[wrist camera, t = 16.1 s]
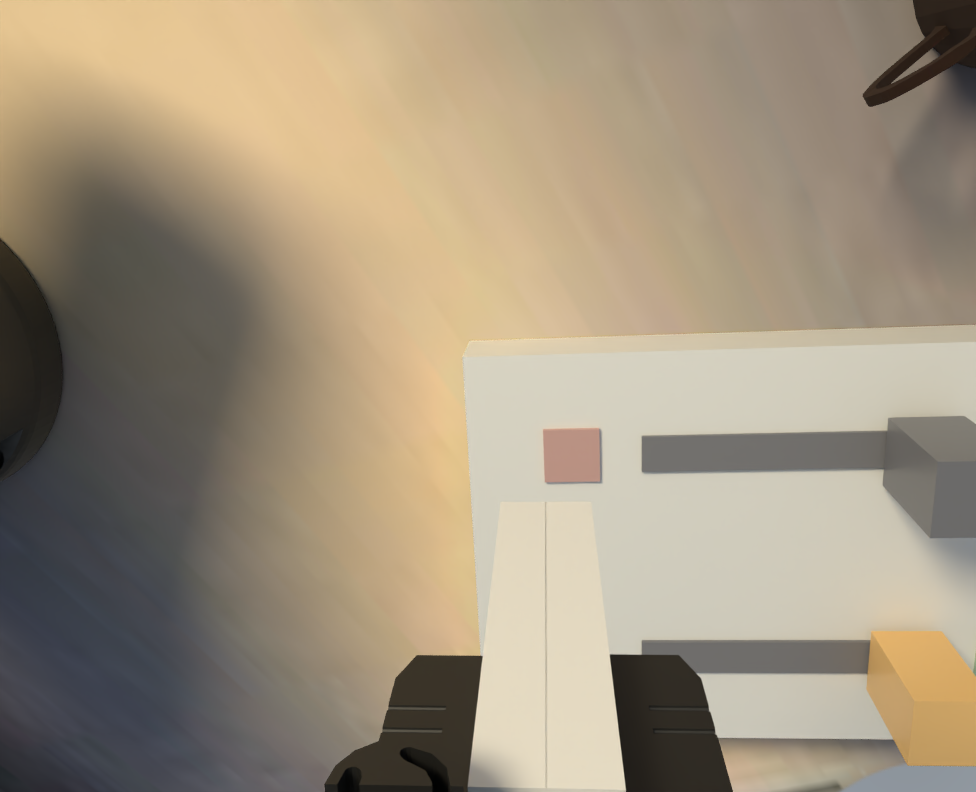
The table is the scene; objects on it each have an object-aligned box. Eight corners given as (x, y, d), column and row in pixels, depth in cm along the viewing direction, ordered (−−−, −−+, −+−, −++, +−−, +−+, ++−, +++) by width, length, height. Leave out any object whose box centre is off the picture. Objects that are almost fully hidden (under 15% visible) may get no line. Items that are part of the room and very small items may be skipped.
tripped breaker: (866, 689, 40) (907, 765, 35) (871, 630, 39) (914, 701, 34) (934, 689, 40) (986, 766, 35) (941, 631, 39) (995, 701, 34)
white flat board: (490, 697, 46) (485, 738, 43) (469, 340, 40) (461, 358, 37) (1059, 700, 43) (1097, 744, 40) (1120, 320, 38) (1169, 337, 35)
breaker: (882, 485, 37) (929, 538, 32) (888, 417, 36) (937, 461, 31) (957, 484, 37) (1016, 537, 32) (964, 415, 36) (1025, 460, 31)
